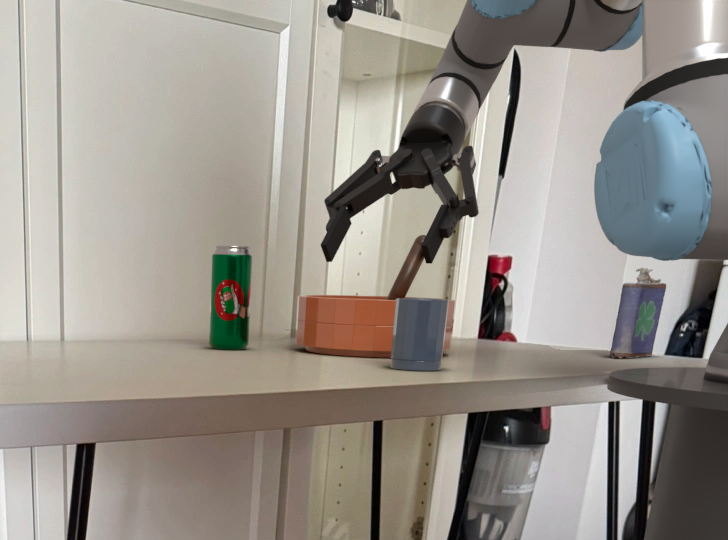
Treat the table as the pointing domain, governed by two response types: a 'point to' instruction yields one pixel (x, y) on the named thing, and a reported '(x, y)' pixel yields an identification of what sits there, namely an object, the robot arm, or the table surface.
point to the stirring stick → (408, 270)
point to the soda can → (230, 297)
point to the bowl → (352, 324)
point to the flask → (638, 316)
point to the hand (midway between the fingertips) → (374, 254)
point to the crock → (419, 334)
